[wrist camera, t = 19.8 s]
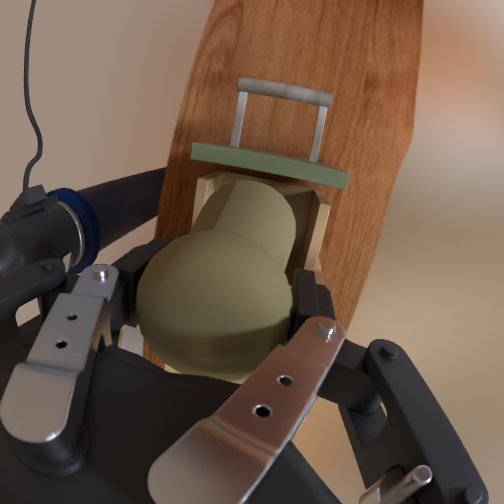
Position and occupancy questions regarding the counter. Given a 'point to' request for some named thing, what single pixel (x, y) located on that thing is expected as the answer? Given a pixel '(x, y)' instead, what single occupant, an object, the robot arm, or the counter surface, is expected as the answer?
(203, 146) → the drawer
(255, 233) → the cork
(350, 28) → the counter surface
